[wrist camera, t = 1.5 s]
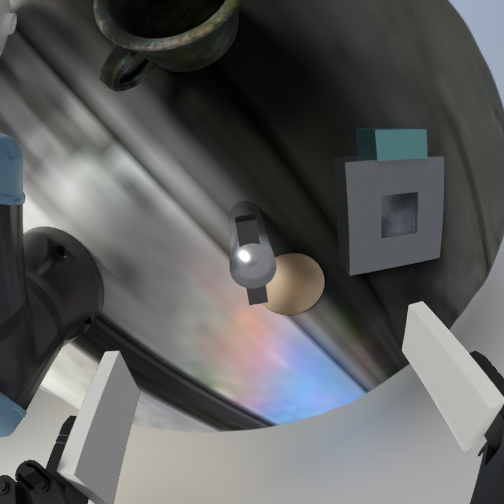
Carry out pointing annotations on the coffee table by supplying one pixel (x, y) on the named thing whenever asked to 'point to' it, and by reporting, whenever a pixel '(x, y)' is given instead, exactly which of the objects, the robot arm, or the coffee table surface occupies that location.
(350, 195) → the block
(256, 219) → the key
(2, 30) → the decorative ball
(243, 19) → the coffee table surface
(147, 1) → the mug
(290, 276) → the coaster
